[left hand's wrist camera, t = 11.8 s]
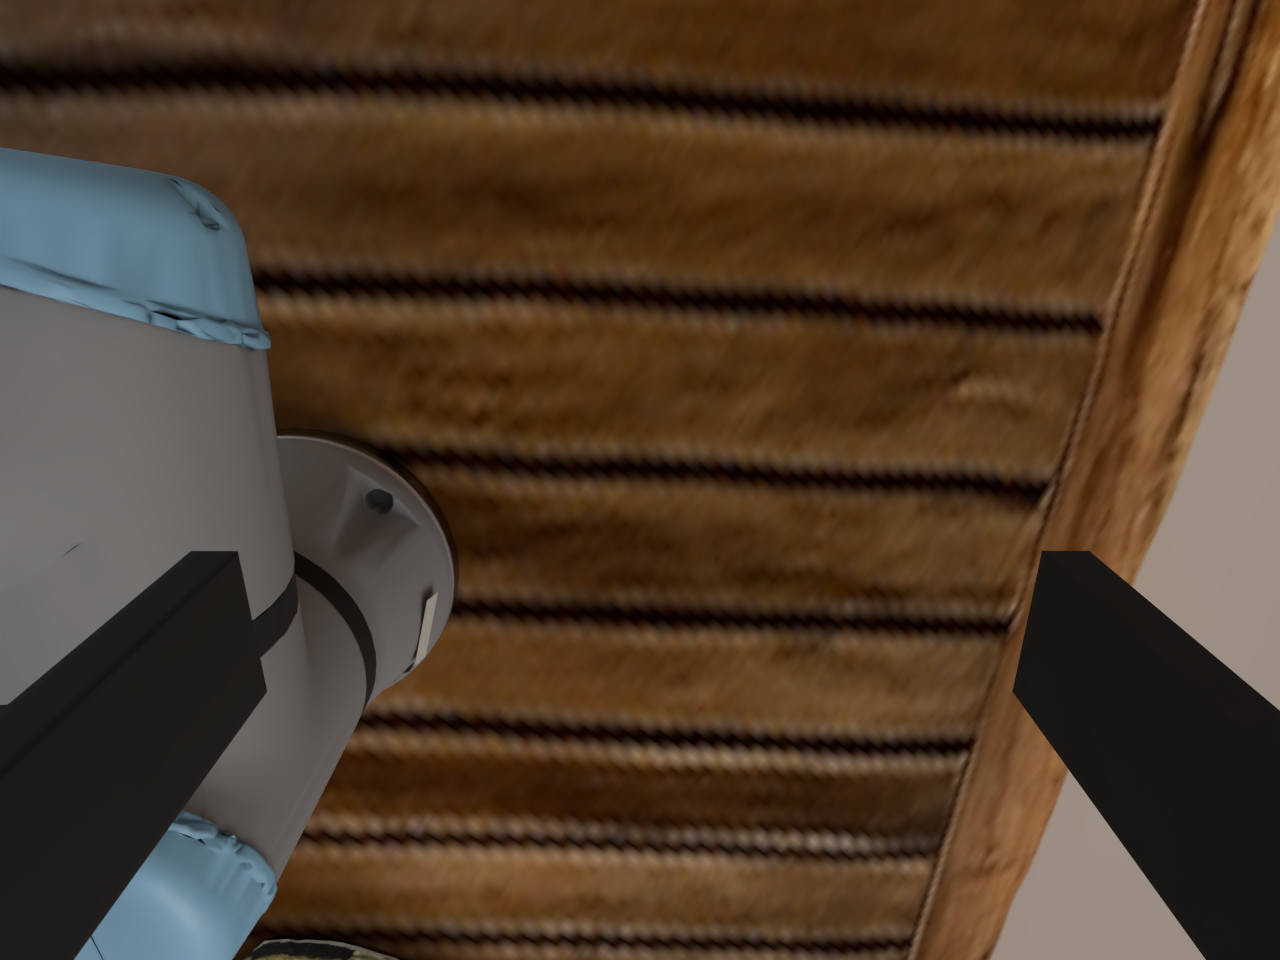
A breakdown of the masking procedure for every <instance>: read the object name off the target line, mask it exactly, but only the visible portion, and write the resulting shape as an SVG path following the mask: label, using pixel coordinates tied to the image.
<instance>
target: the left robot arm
mask: <svg viewBox="0 0 1280 960" xmlns="http://www.w3.org/2000/svg"><path fill="white" fill-rule="evenodd" d="M268 348H271V340H270V336H269V332H268V331H267V330H266V329H265V328H264V327H263V326H262V323H261V318H260V313H259V308H258V303H257V299H256V294H255V289H254V284H253V279H252V274H251V269H250V265H249V260H248V255H247V249H246V244H245V239H244V236H243V233H242V230H241V228H240V226H239V224H238V222H237V220H236V218H235V217H234V215H233V214H232V212H231V211H230V210H229V209H228V207H227V206H226V205H225V204H224V203H223V202H222V201H221V200H220V199H219V198H217V197H216V196H215V195H214V194H212V193H211V192H210V191H208V190H207V189H205V188H204V187H202V186H200V185H198V184H196V183H193V182H191V181H189V180H187V179H184V178H181V177H177V176H173V175H168V174H163V173H159V172H153V171H147V170H142V169H136V168H130V167H124V166H118V165H112V164H106V163H100V162H93V161H87V160H81V159H74V158H68V157H61V156H55V155H48V154H42V153H35V152H29V151H22V150H16V149H9V148H3V147H0V960H232V959H233V958H234V956H235V955H236V953H237V952H238V950H239V949H240V947H241V946H242V944H243V942H244V941H245V939H246V938H247V936H248V935H249V933H250V932H251V930H252V929H253V927H254V926H255V924H256V923H257V921H258V920H259V918H260V917H261V915H262V914H263V913H264V912H265V911H266V910H267V909H268V906H269V905H270V904H271V902H272V900H273V899H274V897H275V895H276V894H275V893H276V891H277V889H278V888H277V882H278V880H279V878H280V876H281V874H282V872H283V870H284V868H285V866H286V864H287V862H288V860H289V858H290V856H291V854H292V852H293V850H294V848H295V846H296V844H297V842H298V840H299V838H300V836H301V834H302V832H303V830H304V828H305V826H306V824H307V822H308V820H309V818H310V816H311V814H312V812H313V810H314V808H315V806H316V804H317V802H318V800H319V798H320V796H321V795H322V793H323V791H324V789H325V787H326V785H327V783H328V781H329V779H330V777H331V775H332V773H333V771H334V769H335V767H336V765H337V763H338V761H339V759H340V757H341V755H342V753H343V751H344V749H345V747H346V745H347V743H348V741H349V739H350V737H351V735H352V733H353V731H354V729H355V727H356V725H357V723H358V721H359V719H360V717H361V715H362V713H363V711H364V709H365V707H366V706H368V705H369V704H370V703H371V702H372V701H373V700H374V699H375V698H376V697H377V695H378V694H379V693H381V692H382V691H383V690H385V689H387V688H389V687H390V686H392V685H394V684H395V683H397V682H398V681H400V680H401V679H402V678H404V677H405V676H406V675H407V674H409V673H410V672H411V671H412V670H414V669H415V668H416V667H417V666H418V665H419V664H420V663H421V661H422V660H423V659H424V658H425V657H426V655H427V654H428V653H429V652H430V650H431V649H432V648H433V646H434V645H435V644H436V642H437V641H438V639H439V637H440V636H441V634H442V632H443V630H444V628H445V625H446V623H447V621H448V618H449V616H450V614H451V612H452V609H453V606H454V603H455V599H456V594H457V589H458V579H459V569H458V558H457V551H456V547H455V543H454V540H453V536H452V534H451V531H450V528H449V526H448V524H447V522H446V520H445V518H444V516H443V514H442V512H441V510H440V509H439V507H438V506H437V504H436V502H435V501H434V500H433V498H432V497H431V496H430V494H429V493H428V492H427V490H426V489H425V488H424V487H423V486H422V485H421V484H420V483H419V482H418V481H417V480H416V479H415V478H414V477H413V476H412V475H411V474H410V473H409V472H408V471H407V470H405V469H404V468H403V467H402V466H400V465H399V464H398V463H396V462H395V461H394V460H392V459H391V458H389V457H387V456H386V455H384V454H383V453H381V452H379V451H377V450H375V449H373V448H372V447H370V446H368V445H365V444H363V443H360V442H358V441H356V440H353V439H350V438H347V437H344V436H341V435H337V434H332V433H328V432H323V431H316V430H305V429H286V430H276V426H275V419H274V411H273V403H272V394H271V386H270V378H269V369H268V361H267V353H266V349H268ZM1013 693H1014V694H1015V696H1016V697H1017V698H1018V700H1019V701H1020V702H1021V704H1022V705H1023V707H1024V708H1025V709H1026V711H1027V712H1028V714H1029V715H1030V716H1031V718H1032V719H1033V720H1034V722H1035V723H1036V725H1037V726H1038V727H1039V729H1040V730H1041V732H1042V733H1043V734H1044V736H1045V737H1046V739H1047V740H1048V741H1049V743H1050V744H1051V745H1052V747H1053V748H1054V750H1055V751H1056V752H1057V754H1058V755H1059V757H1060V758H1061V759H1062V761H1063V762H1064V763H1065V765H1066V766H1067V768H1068V769H1069V770H1070V772H1071V773H1072V775H1073V776H1074V777H1075V779H1076V780H1077V782H1078V783H1079V784H1080V786H1081V787H1082V788H1083V790H1084V791H1085V793H1086V794H1087V795H1088V797H1089V798H1090V800H1091V801H1092V802H1093V804H1094V805H1095V806H1096V808H1097V809H1098V811H1099V812H1100V813H1101V815H1102V816H1103V818H1104V819H1105V820H1106V822H1107V823H1108V825H1109V826H1110V827H1111V829H1112V830H1113V831H1114V833H1115V834H1116V836H1117V837H1118V838H1119V840H1120V841H1121V843H1122V844H1123V845H1124V847H1125V848H1126V849H1127V851H1128V852H1129V854H1130V855H1131V856H1132V858H1133V859H1134V861H1135V862H1136V863H1137V865H1138V866H1139V868H1140V869H1141V870H1142V872H1143V873H1144V874H1145V876H1146V877H1147V879H1148V880H1149V881H1150V883H1151V884H1152V886H1153V887H1154V888H1155V890H1156V891H1157V892H1158V894H1159V895H1160V897H1161V898H1162V899H1163V901H1164V902H1165V904H1166V905H1167V906H1168V908H1169V909H1170V911H1171V912H1172V913H1173V915H1174V916H1175V917H1176V919H1177V920H1178V922H1179V923H1180V924H1181V926H1182V927H1183V929H1184V930H1185V931H1186V933H1187V934H1188V935H1189V937H1190V938H1191V940H1192V941H1193V942H1194V944H1195V945H1196V947H1197V948H1198V949H1199V951H1200V952H1201V954H1202V955H1203V956H1204V958H1205V959H1206V960H1280V711H1279V710H1278V709H1277V708H1276V707H1275V706H1273V705H1272V704H1271V703H1270V702H1269V701H1267V700H1266V699H1265V698H1264V697H1263V696H1261V695H1260V694H1259V693H1258V692H1257V691H1256V690H1254V689H1253V688H1252V687H1251V686H1250V685H1248V684H1247V683H1246V682H1245V681H1244V680H1242V679H1241V678H1240V677H1239V676H1238V675H1236V674H1235V673H1234V672H1233V671H1232V670H1230V669H1229V668H1228V667H1227V666H1226V665H1224V664H1223V663H1222V662H1221V661H1220V660H1218V659H1217V658H1216V657H1215V656H1214V655H1213V654H1211V653H1210V652H1209V651H1208V650H1207V649H1205V648H1204V647H1203V646H1202V645H1201V644H1199V643H1198V642H1197V641H1196V640H1195V639H1193V638H1192V637H1191V636H1190V635H1189V634H1188V633H1186V632H1185V631H1184V630H1183V629H1182V628H1180V627H1179V626H1178V625H1177V624H1176V623H1174V622H1173V621H1172V620H1171V619H1170V618H1168V617H1167V616H1166V615H1165V614H1164V613H1162V612H1161V611H1160V610H1159V609H1158V608H1156V607H1155V606H1154V605H1153V604H1152V603H1151V602H1149V601H1148V600H1147V599H1146V598H1145V597H1143V596H1142V595H1141V594H1140V593H1139V592H1137V591H1136V590H1135V589H1134V588H1133V587H1131V586H1130V585H1129V584H1128V583H1127V582H1125V581H1124V580H1123V579H1122V578H1121V577H1119V576H1118V575H1117V574H1116V573H1115V572H1114V571H1112V570H1111V569H1110V568H1109V567H1108V566H1106V565H1105V564H1104V563H1103V562H1102V561H1100V560H1099V559H1098V558H1097V557H1096V556H1094V555H1093V554H1092V553H1091V552H1090V551H1042V554H1041V559H1040V564H1039V568H1038V573H1037V578H1036V583H1035V587H1034V592H1033V597H1032V602H1031V607H1030V611H1029V616H1028V621H1027V626H1026V630H1025V635H1024V640H1023V645H1022V649H1021V654H1020V659H1019V664H1018V668H1017V673H1016V678H1015V683H1014V688H1013Z"/></svg>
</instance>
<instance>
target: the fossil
mask: <svg viewBox="0 0 1280 960" xmlns="http://www.w3.org/2000/svg"><path fill="white" fill-rule="evenodd" d="M241 960H398V959H397V958H394V957H391V956H388V955H384V954H381V953H378V952H375V951H371V950H368V949H365V948H362V947H358V946H354V945H349V944H345V943H341V942H334V941H322V940H299V941H297V940H291V939H282V940H269V941H264V942H263V943H262V944H260V945H259V946H258V947H257V948H256V949H254V950H253V951H252V952H251V953H249V954H248V955H246V956H244V957H243V958H242V959H241Z"/></svg>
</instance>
